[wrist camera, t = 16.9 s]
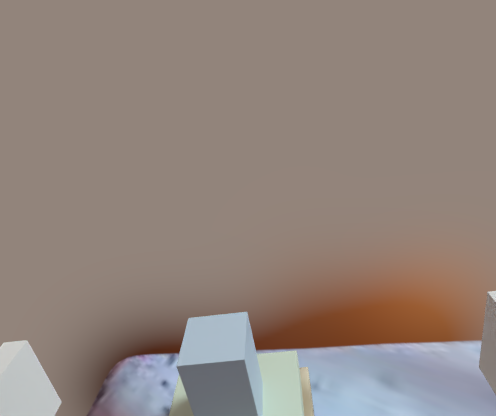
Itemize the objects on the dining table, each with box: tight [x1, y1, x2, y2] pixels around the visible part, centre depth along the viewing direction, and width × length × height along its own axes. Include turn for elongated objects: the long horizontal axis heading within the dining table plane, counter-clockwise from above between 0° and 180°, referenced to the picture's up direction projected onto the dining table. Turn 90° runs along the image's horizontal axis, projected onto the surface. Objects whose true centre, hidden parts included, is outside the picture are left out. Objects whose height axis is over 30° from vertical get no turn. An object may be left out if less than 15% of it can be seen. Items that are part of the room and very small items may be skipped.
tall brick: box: [177, 312, 263, 416], centre depth 38 cm, size 6×6×10 cm
